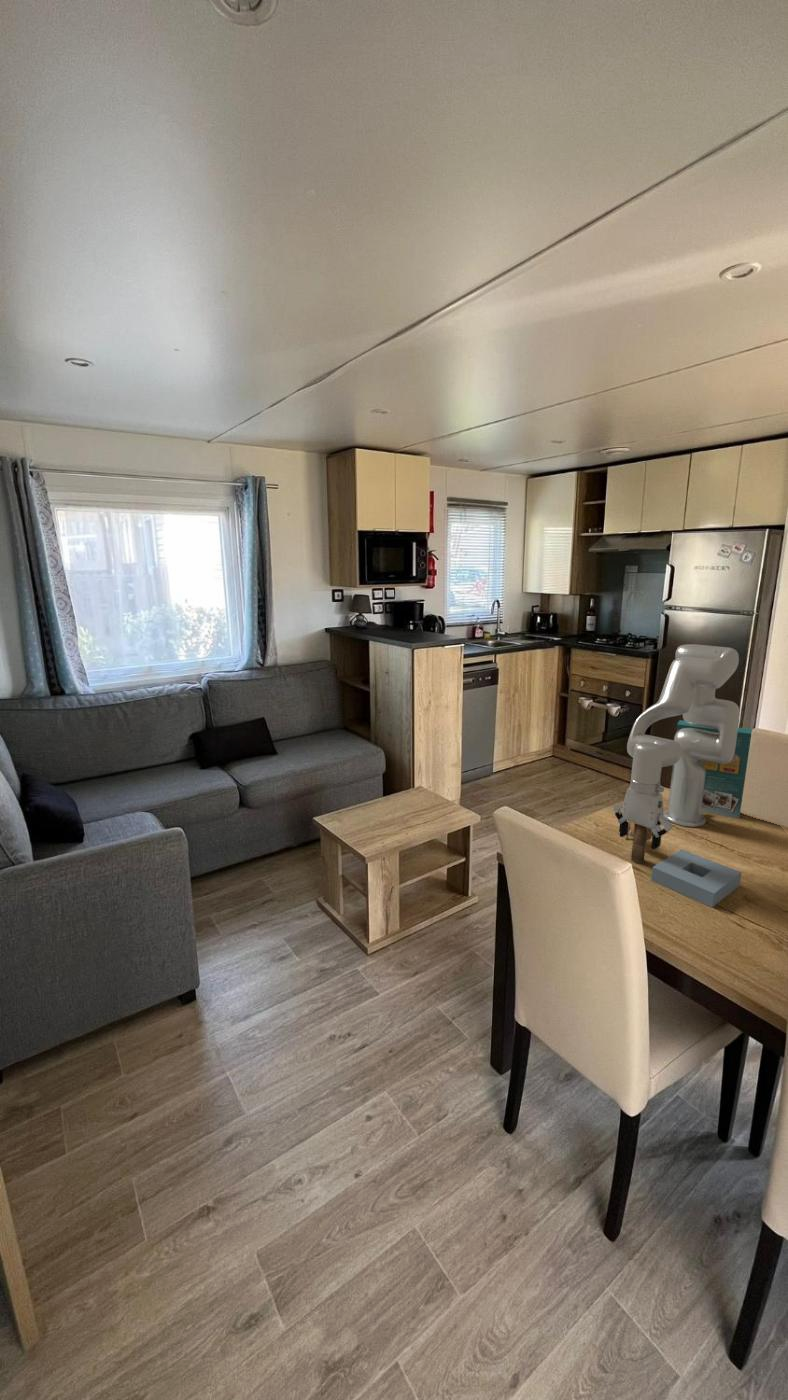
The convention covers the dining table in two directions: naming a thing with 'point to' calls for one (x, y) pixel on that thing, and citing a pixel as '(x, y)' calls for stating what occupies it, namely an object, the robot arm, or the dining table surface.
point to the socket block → (696, 877)
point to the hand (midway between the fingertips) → (638, 841)
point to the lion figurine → (631, 826)
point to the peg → (639, 843)
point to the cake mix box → (724, 776)
